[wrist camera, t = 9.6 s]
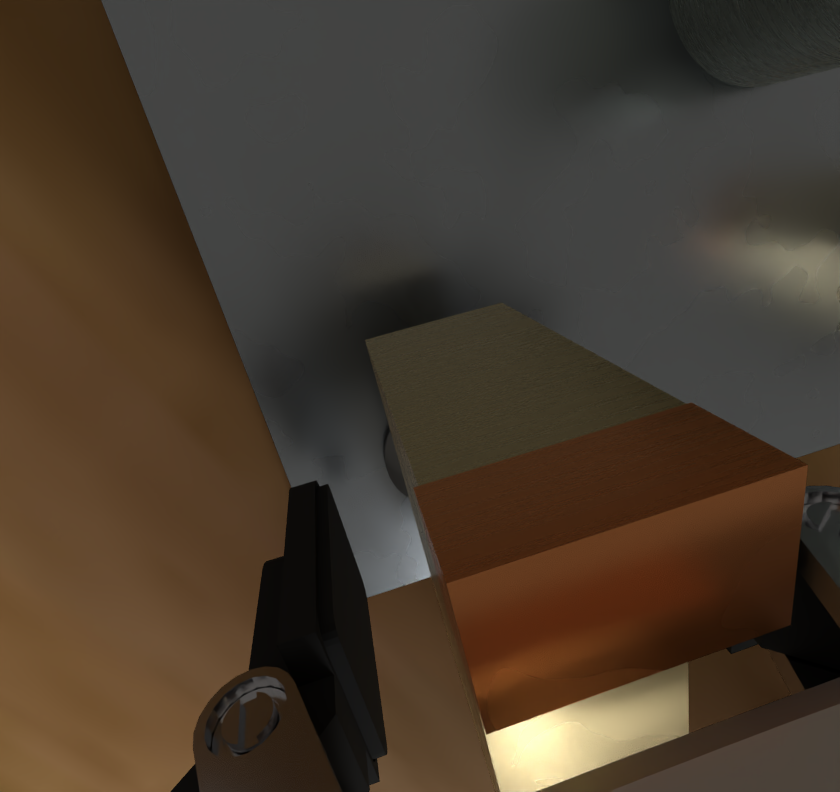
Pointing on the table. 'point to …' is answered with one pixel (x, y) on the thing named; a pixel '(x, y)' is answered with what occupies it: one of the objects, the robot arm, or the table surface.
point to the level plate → (504, 203)
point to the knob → (580, 536)
